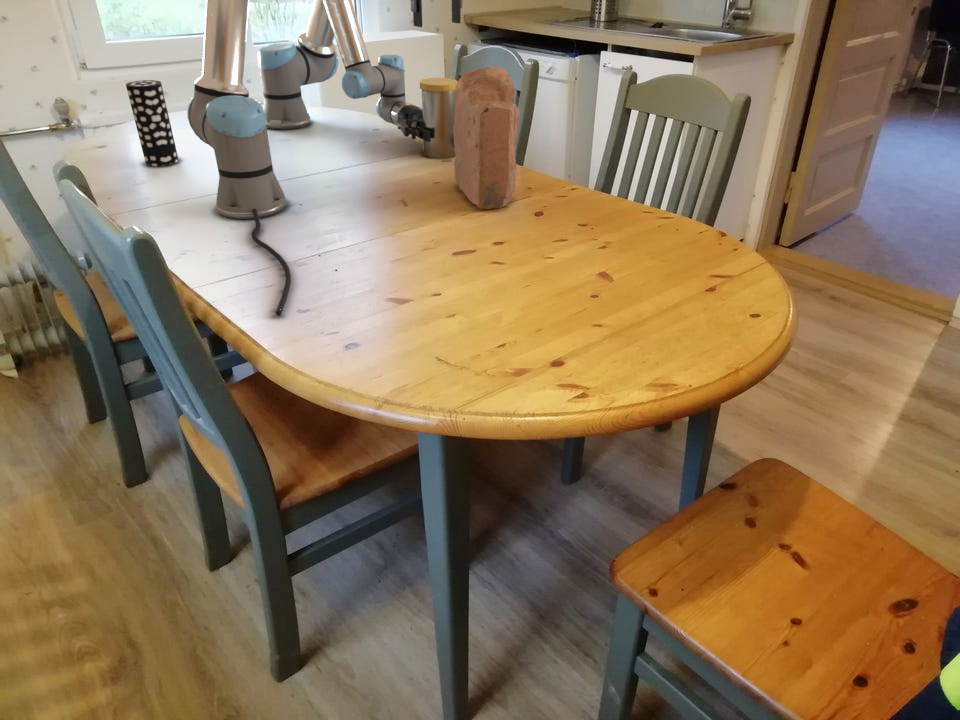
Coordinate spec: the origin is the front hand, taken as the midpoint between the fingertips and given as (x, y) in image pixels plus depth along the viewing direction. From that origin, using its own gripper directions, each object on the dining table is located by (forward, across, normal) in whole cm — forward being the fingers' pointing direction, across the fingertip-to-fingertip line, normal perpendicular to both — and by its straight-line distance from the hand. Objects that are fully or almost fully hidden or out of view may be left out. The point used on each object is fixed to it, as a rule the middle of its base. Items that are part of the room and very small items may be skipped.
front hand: (437, 24), depth 178 cm
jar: (+33, 0, 0) cm, 33 cm away
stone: (+33, -13, -35) cm, 50 cm away
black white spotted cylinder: (+23, -64, +40) cm, 79 cm away
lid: (+14, 0, 0) cm, 14 cm away
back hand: (+27, 0, -4) cm, 27 cm away
